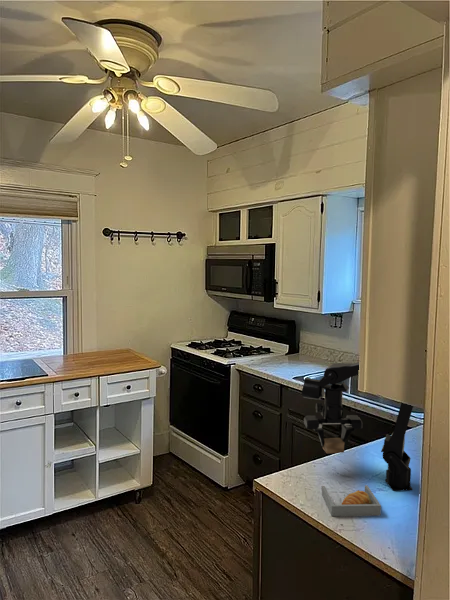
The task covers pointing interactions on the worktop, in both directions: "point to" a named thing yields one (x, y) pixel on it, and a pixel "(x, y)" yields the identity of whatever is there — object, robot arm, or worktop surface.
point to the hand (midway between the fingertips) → (332, 446)
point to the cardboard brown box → (333, 445)
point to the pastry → (357, 498)
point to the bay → (353, 506)
